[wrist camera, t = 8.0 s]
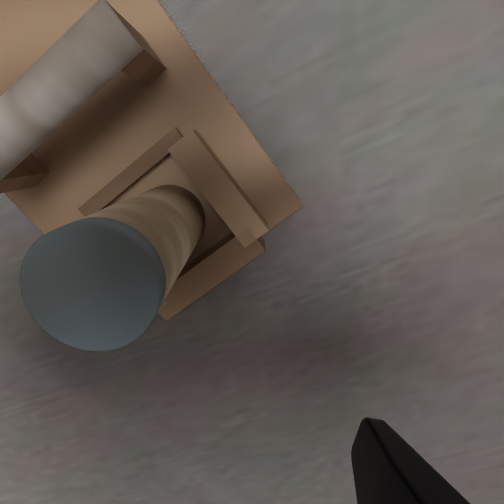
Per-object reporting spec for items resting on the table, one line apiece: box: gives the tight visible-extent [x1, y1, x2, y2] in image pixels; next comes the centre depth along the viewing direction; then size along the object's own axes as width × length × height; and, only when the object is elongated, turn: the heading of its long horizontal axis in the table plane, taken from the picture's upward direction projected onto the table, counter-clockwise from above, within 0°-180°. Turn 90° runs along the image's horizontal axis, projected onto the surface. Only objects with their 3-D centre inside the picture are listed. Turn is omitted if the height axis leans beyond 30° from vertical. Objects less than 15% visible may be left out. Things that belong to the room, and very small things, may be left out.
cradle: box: [0, 0, 303, 321], centre depth 13 cm, size 15×10×5 cm, turn 37°
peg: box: [20, 185, 206, 351], centre depth 12 cm, size 3×3×8 cm
